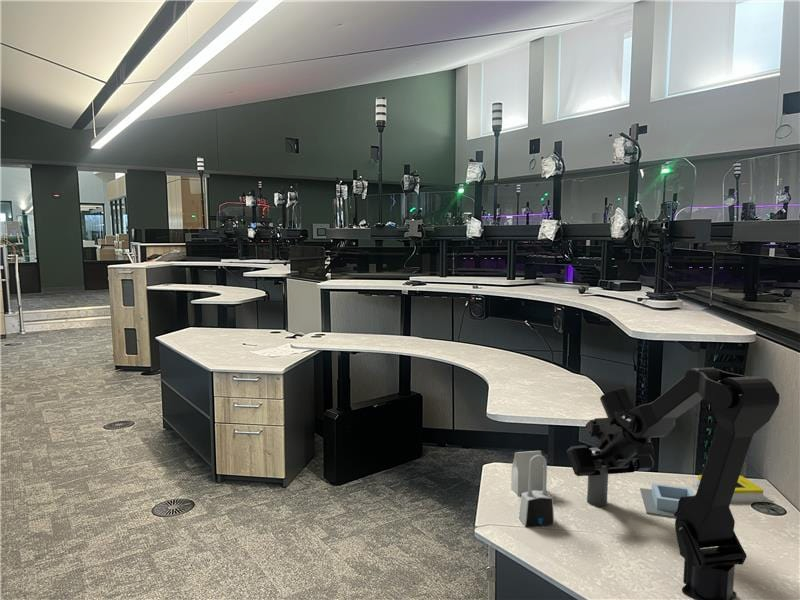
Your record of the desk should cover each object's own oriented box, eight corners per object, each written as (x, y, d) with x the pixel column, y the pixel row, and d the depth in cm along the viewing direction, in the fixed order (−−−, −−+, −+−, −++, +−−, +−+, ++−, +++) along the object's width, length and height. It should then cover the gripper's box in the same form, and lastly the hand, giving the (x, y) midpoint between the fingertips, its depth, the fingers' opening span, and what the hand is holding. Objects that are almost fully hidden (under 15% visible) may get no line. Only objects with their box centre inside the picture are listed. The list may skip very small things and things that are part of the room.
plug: (610, 503, 122) (612, 451, 121) (600, 508, 119) (602, 455, 118) (593, 496, 125) (595, 446, 124) (583, 501, 122) (585, 450, 121)
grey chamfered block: (543, 493, 127) (544, 453, 126) (517, 495, 125) (518, 455, 124) (536, 486, 130) (537, 448, 129) (511, 489, 129) (512, 450, 128)
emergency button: (690, 469, 132) (748, 469, 132) (689, 486, 132) (747, 486, 132) (713, 485, 122) (775, 485, 123) (712, 503, 123) (774, 503, 123)
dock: (712, 523, 112) (713, 510, 112) (646, 513, 117) (647, 500, 116) (699, 497, 125) (699, 485, 125) (640, 489, 129) (640, 477, 129)
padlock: (546, 515, 115) (548, 450, 114) (555, 525, 111) (557, 457, 110) (518, 518, 114) (519, 452, 113) (525, 528, 110) (527, 459, 109)
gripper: (647, 408, 118) (616, 439, 130) (572, 412, 114) (547, 443, 126) (670, 454, 111) (635, 482, 123) (591, 460, 107) (562, 489, 119)
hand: (594, 473), depth 123 cm, fingers closed on plug, 4 cm apart
